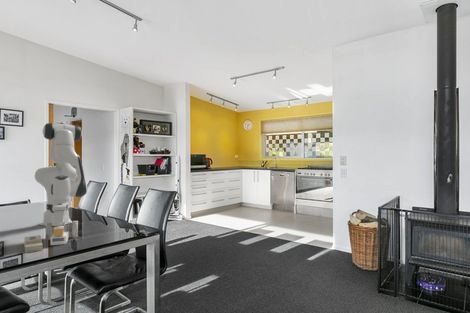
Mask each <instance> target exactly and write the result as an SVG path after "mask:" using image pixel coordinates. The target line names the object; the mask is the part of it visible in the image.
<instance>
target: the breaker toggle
mask: <svg viewBox="0 0 470 313" xmlns="http://www.w3.org/2000/svg"><path fill="white" fill-rule="evenodd" d="M53 227H54V228H53V234H54V236H63V232H65V230H64V228H65V226H53Z"/></svg>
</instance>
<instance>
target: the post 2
mask: <svg viewBox="0 0 470 313" xmlns="http://www.w3.org/2000/svg"><path fill="white" fill-rule="evenodd" d="M71 221H72V223H71V238H72V239H75V238H78V237H79V220H71Z"/></svg>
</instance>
